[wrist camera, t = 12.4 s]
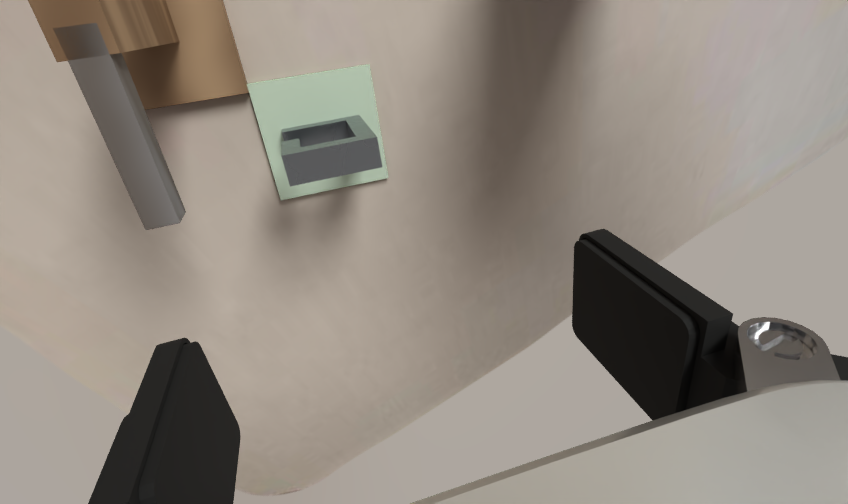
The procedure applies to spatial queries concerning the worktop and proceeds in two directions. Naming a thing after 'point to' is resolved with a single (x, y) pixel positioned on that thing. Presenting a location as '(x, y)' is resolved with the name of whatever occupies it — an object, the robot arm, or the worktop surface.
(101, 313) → the worktop surface
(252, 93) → the mat
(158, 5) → the stand
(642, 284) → the robot arm
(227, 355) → the worktop surface
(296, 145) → the link
